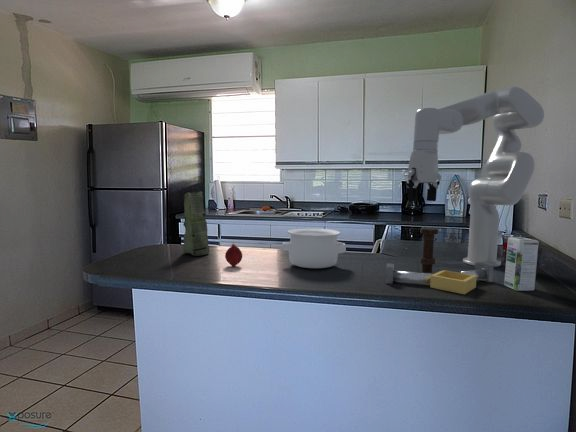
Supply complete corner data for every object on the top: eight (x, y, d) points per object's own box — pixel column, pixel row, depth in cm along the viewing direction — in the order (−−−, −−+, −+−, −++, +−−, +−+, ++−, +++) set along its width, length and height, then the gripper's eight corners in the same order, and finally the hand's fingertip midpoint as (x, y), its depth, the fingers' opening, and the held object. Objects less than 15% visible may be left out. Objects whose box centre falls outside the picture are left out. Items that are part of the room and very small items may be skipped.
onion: (245, 265, 137) (245, 242, 136) (236, 269, 132) (236, 245, 131) (231, 263, 139) (231, 241, 139) (221, 267, 134) (221, 244, 133)
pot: (342, 261, 146) (343, 229, 144) (347, 273, 128) (348, 236, 127) (283, 260, 147) (283, 227, 145) (280, 271, 130) (280, 234, 128)
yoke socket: (442, 281, 120) (443, 269, 120) (475, 287, 114) (476, 275, 113) (430, 287, 113) (430, 275, 113) (464, 294, 107) (465, 281, 106)
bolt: (436, 276, 125) (438, 229, 124) (419, 275, 126) (422, 229, 125) (433, 272, 131) (435, 227, 130) (417, 271, 132) (419, 227, 131)
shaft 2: (466, 286, 115) (467, 269, 114) (451, 282, 119) (452, 265, 119) (492, 281, 120) (493, 265, 120) (478, 277, 125) (479, 262, 124)
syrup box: (503, 285, 116) (506, 236, 115) (522, 285, 117) (525, 236, 115) (515, 291, 111) (519, 240, 109) (535, 290, 111) (539, 240, 110)
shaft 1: (433, 283, 117) (434, 266, 117) (434, 287, 113) (435, 270, 112) (386, 279, 121) (387, 263, 121) (385, 283, 117) (386, 266, 116)
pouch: (185, 258, 148) (184, 191, 145) (177, 252, 158) (176, 190, 156) (214, 255, 153) (213, 191, 151) (204, 250, 164) (204, 190, 161)
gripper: (432, 150, 135) (428, 200, 136) (398, 146, 125) (394, 200, 127) (451, 149, 129) (448, 201, 130) (417, 145, 119) (414, 201, 120)
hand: (421, 200), depth 128 cm, fingers open, 9 cm apart
